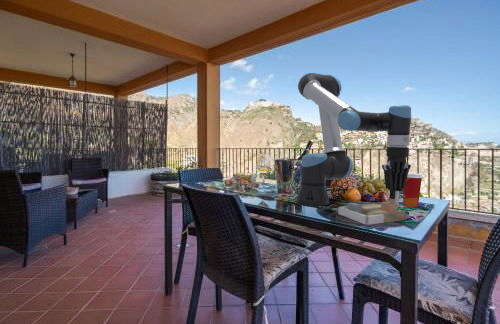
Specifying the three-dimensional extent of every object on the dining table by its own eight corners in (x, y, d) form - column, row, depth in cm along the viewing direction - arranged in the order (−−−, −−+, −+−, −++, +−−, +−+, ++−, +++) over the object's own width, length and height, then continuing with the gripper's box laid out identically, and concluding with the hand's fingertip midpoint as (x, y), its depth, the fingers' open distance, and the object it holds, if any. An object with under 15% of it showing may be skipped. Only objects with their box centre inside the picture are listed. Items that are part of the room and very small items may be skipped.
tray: (338, 213, 109) (338, 206, 109) (353, 212, 112) (354, 205, 112) (366, 225, 95) (366, 216, 95) (383, 222, 98) (383, 214, 98)
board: (353, 212, 112) (354, 205, 112) (374, 210, 116) (374, 203, 116) (383, 222, 98) (383, 214, 98) (405, 219, 102) (405, 212, 102)
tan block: (380, 209, 105) (381, 202, 105) (388, 208, 106) (388, 201, 106) (389, 212, 101) (389, 204, 101) (397, 211, 103) (397, 203, 102)
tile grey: (353, 212, 109) (347, 213, 108) (354, 202, 109) (348, 203, 108) (361, 214, 106) (355, 215, 105) (361, 204, 105) (355, 205, 104)
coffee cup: (407, 202, 131) (409, 172, 129) (424, 206, 123) (426, 174, 122) (396, 204, 127) (398, 173, 125) (413, 208, 119) (415, 175, 118)
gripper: (393, 146, 97) (390, 210, 99) (418, 146, 102) (414, 208, 104) (377, 146, 104) (373, 206, 106) (401, 146, 109) (397, 203, 111)
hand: (394, 207), depth 105 cm, fingers closed
